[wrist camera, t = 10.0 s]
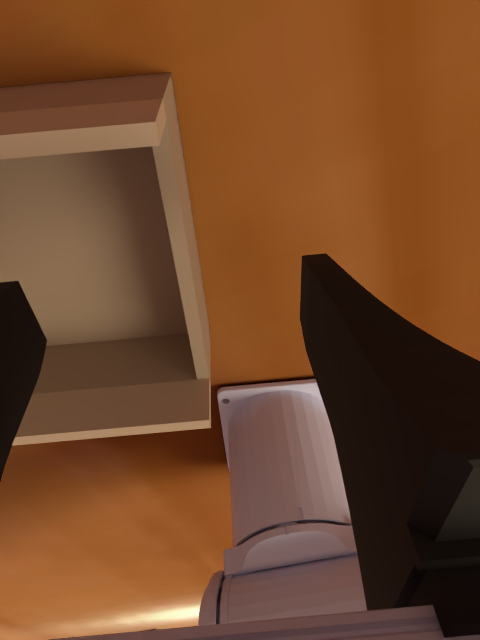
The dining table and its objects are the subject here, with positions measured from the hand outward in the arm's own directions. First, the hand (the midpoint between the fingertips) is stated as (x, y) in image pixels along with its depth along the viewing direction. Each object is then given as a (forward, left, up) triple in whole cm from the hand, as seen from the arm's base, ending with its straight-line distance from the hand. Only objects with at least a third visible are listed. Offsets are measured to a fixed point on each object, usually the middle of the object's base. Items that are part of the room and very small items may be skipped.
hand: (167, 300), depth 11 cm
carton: (-3, +6, -9) cm, 12 cm away
